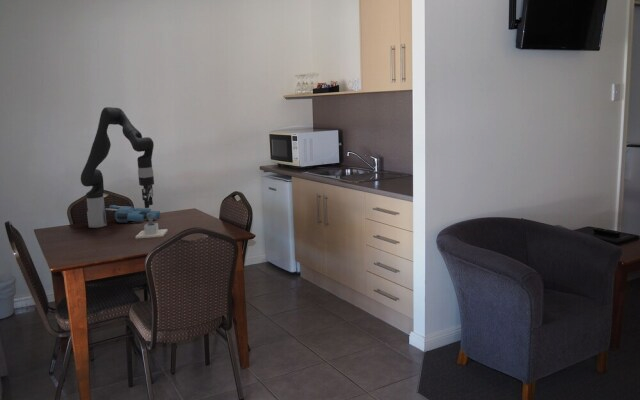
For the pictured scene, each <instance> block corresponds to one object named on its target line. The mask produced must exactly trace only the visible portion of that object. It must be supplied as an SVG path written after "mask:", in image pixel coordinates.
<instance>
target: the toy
mask: <svg viewBox="0 0 640 400" xmlns="http://www.w3.org/2000/svg"><path fill="white" fill-rule="evenodd" d="M151 209H152V208H145V207H135V209H134V208H133V206H130V205H129V206H127V205H123V206H122V205H121V206H119V205H115V204H111V205H109V206H108V208H107V207H105V211H112V212H113V214H114V220H115V221H116V222H117V223H121V224H122V223H123V224H124V223H129V222H142V223H143V222H144V220H145V219H146V220H147V221H149V219H148V214H152V220H153V221H157V220H158V219H160V216H161V212H160V211H159V210H151ZM156 219H157V220H156Z"/></svg>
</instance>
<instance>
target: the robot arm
mask: <svg viewBox="0 0 640 400" xmlns="http://www.w3.org/2000/svg"><path fill="white" fill-rule="evenodd" d="M110 125H119V126H120V127H122V129H121V130H122V134H123V136H124V137H125V138H126V139H127V140H128V141H129V142H130V145H131V147H132V149H133V150H134V151H135V152H136V153H137V152H139V153H141V152H144V153H143V155H140V156H138V157H137V159H136V160H137V168H138V169H137V175H138V184H139V186H140V187H142V188H141V194H142V195H141V197H142V201H143V202H144V208H147V209H150V206H152V205H154V203H153V202H154V201H153V198H154V191H153V185H155V179H154V169H153V161H152V158H153V151H154V147H155V145H154V141H153V139H152V138H151V137H148V136H147V137H143V135H142V133H141V132H140V131H139V130H138V129H137V128H136V127H135V126H134V124H132V122H131V121H130V119H129V118H128V116H127V115H126V113H125V112H124V111H123V109H121V108H119V107H113V106H111V107H109V106H108V107H107V106H106V107H104V108H103V109H102V110H101V112H100V117H99V121H98V127H97V129H96V132H95V133H96V134H95V136H94V140H93V142H92V145H91V149H90V153H89V155H88V158H87V160H86V163H85V165H84V167H83V169H82V171H81V175H80V183H81V184H82V186H83V187H86V188H87V187H91V189H90V190H89V191H88V192H86V194H85V197H86V206H87V211H86V215H87V223H88V228H92V229H93V228H94V229H97V228H103V227H106V226H107V225H108V224H107V217H106V216H107V215H106V209H105V208H106V206H105V199H104V190H105V189H104V187H105V186H104V177H103V176H104V175H103V173H102V171H101V170H100V169H99V168H98V167H99V165H100V164H101V163H103V162H104V161H105V159H106V158H107V157H108V155H109V152H110V150H111V146H112V144H111V141H110V137H109V135H108V128H109V126H110ZM97 168H98V169H97Z"/></svg>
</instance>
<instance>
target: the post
mask: <svg viewBox="0 0 640 400" xmlns="http://www.w3.org/2000/svg"><path fill="white" fill-rule="evenodd" d="M148 219H149V220H148V224H149V225H153V223H154V222H153V221H154V220H152V214H148ZM168 231H169V230H168V228H164V229H159V231H158V232H157V233H156V234H145V231H144V230H141V231H140V232H139V233H138V234H137V235H135V239H150V238H162V237H164V236H165V235H166V234H167V233H168Z"/></svg>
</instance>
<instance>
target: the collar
mask: <svg viewBox="0 0 640 400" xmlns="http://www.w3.org/2000/svg"><path fill="white" fill-rule="evenodd" d="M159 230H160V229H159V222H153V225H149V223H146V224H144V225H143V231H145V234H156V233H157V232H158V231H159Z"/></svg>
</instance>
